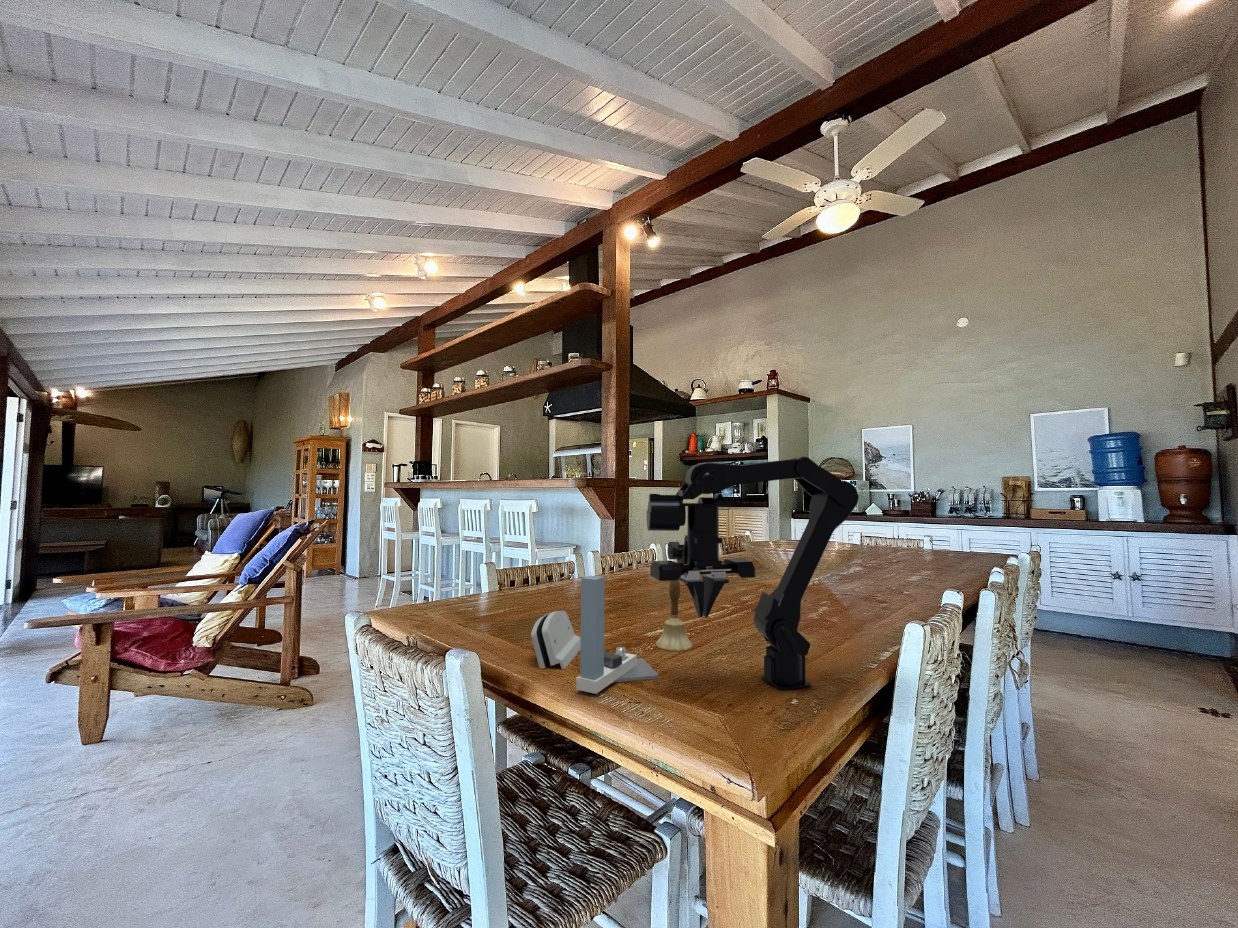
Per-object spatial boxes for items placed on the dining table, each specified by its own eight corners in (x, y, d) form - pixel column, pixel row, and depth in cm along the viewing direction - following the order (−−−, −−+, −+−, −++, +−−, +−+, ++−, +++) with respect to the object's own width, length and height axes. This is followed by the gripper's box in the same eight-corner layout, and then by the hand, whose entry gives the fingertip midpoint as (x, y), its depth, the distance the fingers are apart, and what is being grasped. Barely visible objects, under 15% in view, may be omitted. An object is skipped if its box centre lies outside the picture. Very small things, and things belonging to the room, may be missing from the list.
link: (618, 661, 102) (619, 566, 103) (636, 665, 101) (637, 567, 102) (576, 689, 88) (577, 578, 89) (596, 693, 86) (597, 580, 87)
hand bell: (699, 645, 116) (699, 574, 117) (677, 653, 110) (677, 578, 111) (670, 638, 122) (670, 570, 123) (648, 645, 116) (648, 574, 117)
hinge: (564, 670, 100) (547, 620, 101) (541, 676, 100) (526, 627, 101) (583, 644, 116) (569, 601, 117) (564, 650, 117) (550, 608, 118)
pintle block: (642, 660, 105) (642, 638, 105) (660, 680, 95) (660, 655, 95) (582, 665, 102) (582, 642, 102) (593, 686, 91) (593, 660, 92)
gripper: (729, 527, 104) (729, 604, 104) (641, 528, 100) (641, 609, 99) (757, 531, 94) (757, 618, 93) (660, 533, 89) (660, 624, 88)
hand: (702, 616), depth 93 cm, fingers closed
